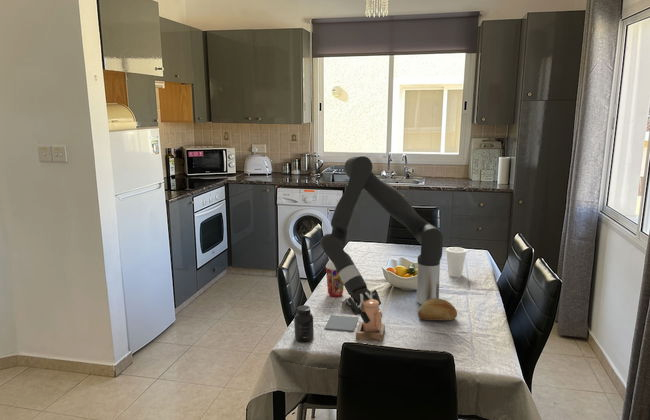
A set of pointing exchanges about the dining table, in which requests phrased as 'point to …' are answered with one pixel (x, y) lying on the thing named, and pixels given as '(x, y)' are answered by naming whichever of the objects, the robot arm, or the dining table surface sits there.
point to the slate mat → (341, 323)
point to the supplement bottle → (303, 324)
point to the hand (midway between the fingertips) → (374, 320)
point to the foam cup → (455, 261)
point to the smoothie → (333, 281)
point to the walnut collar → (370, 333)
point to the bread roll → (437, 310)
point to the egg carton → (344, 305)
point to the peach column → (372, 316)
